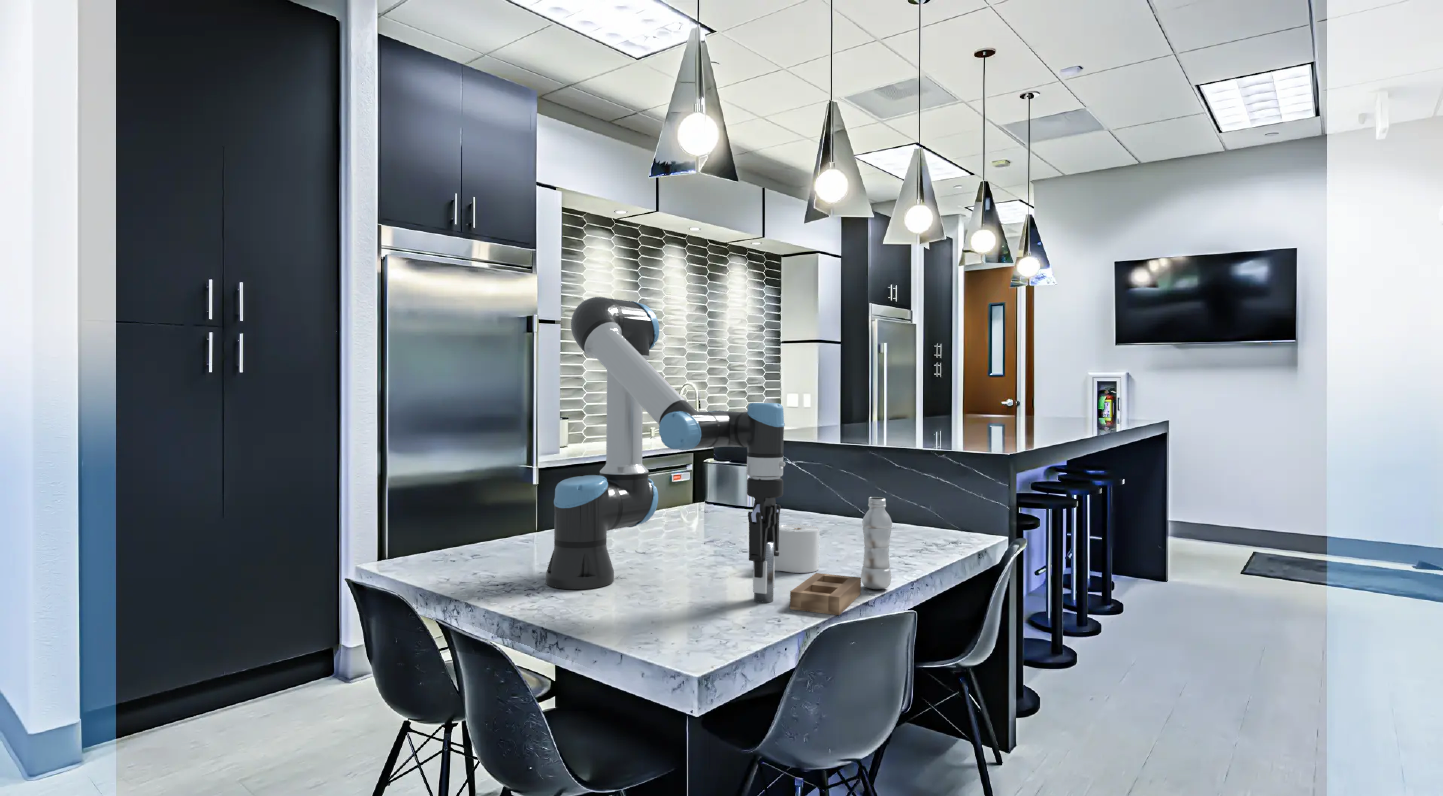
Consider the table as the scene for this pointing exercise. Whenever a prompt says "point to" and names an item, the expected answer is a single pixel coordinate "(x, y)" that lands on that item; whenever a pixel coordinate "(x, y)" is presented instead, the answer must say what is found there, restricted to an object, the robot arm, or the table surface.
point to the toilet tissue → (798, 549)
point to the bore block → (825, 593)
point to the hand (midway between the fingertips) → (763, 589)
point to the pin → (768, 575)
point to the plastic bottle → (876, 545)
